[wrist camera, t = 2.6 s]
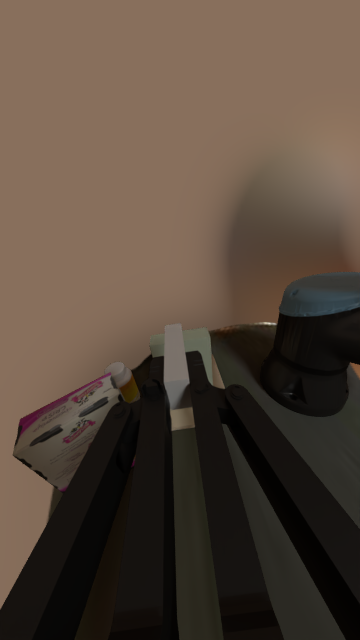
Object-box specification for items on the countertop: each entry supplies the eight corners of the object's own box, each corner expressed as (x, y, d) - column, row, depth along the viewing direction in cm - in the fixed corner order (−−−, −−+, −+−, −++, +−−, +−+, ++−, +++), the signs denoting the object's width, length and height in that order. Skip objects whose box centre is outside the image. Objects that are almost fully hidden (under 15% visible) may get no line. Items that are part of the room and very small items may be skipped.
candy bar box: (139, 430, 33) (111, 369, 25) (150, 454, 29) (121, 392, 21) (77, 474, 28) (17, 417, 20) (80, 510, 24) (8, 457, 16)
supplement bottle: (143, 390, 41) (132, 358, 36) (135, 412, 36) (121, 379, 31) (122, 389, 42) (108, 358, 37) (111, 411, 37) (94, 379, 32)
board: (212, 356, 48) (212, 354, 47) (235, 421, 32) (235, 418, 31) (156, 365, 48) (155, 362, 47) (151, 433, 32) (150, 430, 32)
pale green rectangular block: (210, 387, 38) (206, 327, 30) (213, 398, 35) (210, 336, 28) (166, 393, 38) (150, 335, 30) (166, 405, 35) (149, 345, 28)
